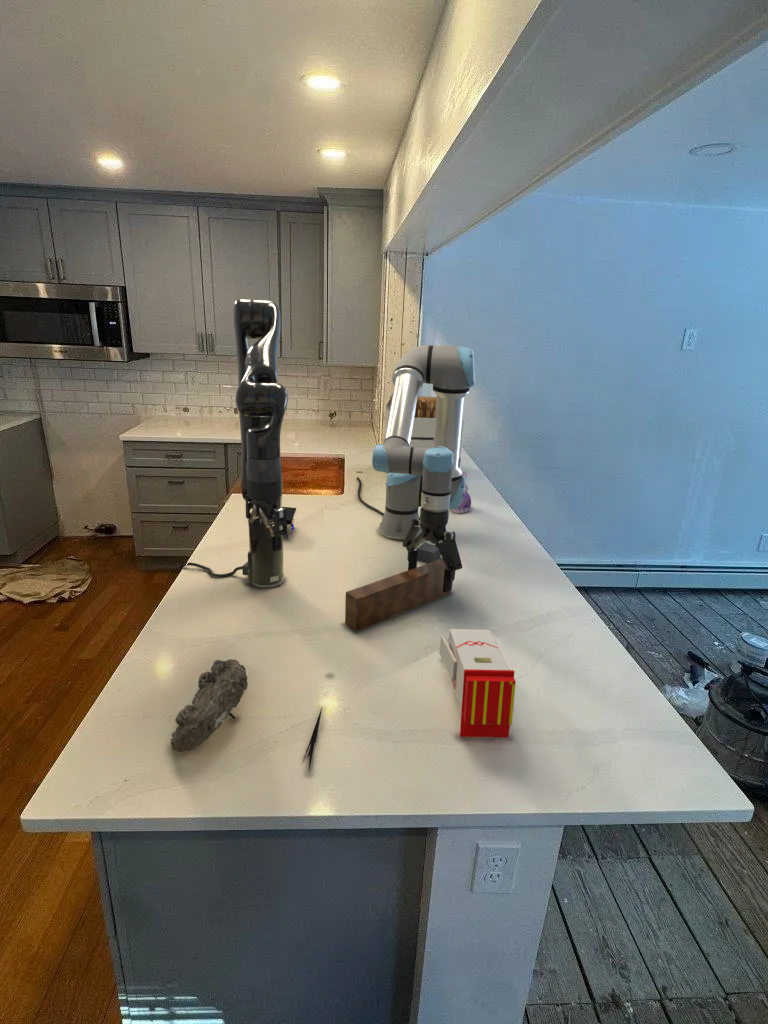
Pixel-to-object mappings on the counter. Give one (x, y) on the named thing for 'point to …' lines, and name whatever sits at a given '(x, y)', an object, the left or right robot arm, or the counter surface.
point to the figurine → (464, 500)
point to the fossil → (210, 704)
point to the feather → (313, 740)
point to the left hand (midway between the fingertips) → (266, 544)
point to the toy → (479, 682)
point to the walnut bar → (394, 595)
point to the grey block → (428, 553)
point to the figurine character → (290, 519)
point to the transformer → (424, 423)
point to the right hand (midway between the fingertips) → (429, 581)
